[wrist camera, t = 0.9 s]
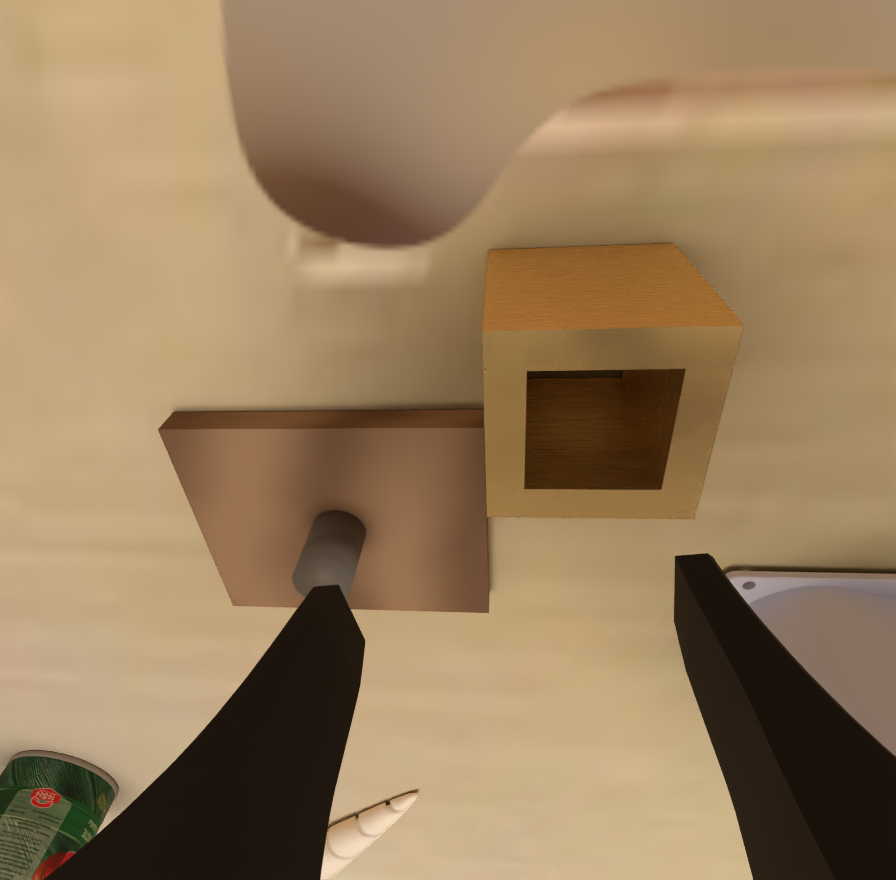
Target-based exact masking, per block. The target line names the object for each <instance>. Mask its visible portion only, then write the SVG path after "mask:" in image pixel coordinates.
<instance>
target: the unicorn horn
mask: <svg viewBox="0 0 896 880" xmlns="http://www.w3.org/2000/svg"><path fill="white" fill-rule="evenodd" d="M417 796H418V793H409V794H405V795H402V796H399V797H397V798H394V799H391V800H390V805H387V804H386V803H385V802H384V803H382V804H380V805H377V806H375V807H373V808H370V809H368V810H366V811H364V812H362V813H360V814H359V818H358V817H357V816H356V815H355V816H353V817H351V818H348V819H346V820H344V821H342V822H339V823H337V824H335V825H333V826H332V827H330V828H328V830H327V836H326V843H325V849H324V856H323V863H322V870H321V878H320V880H330V879H331V878H332V877H334V876H335V875H336V874H337V873H338V872H339V871H341V870H342V869H343V868H344V867H345V866H347V865H348V864H349V863H350V862H351V861H352V860H354V859H355V858H356V857H357V856H358V855H359V854H360V853H361V852H363V851H364V850H365V849H366V848H367V847H369V846H370V845H371V844H372V843H373V842H374V841H375V840H376V839H377V838H378V837H380V836H381V835H382V834H383V833H384V832H385V831H386V830H387V829H388V828H389V827H390V826H391V825H393V824H394V823H395V822H396V821H397V820H398V819H399V818H400V817H401V816H402V815H403V814H404V813H405V812H406V811H407V810H408V808H409V807H410V806H411V805H412V804H413V802H414V801H415V800H416V799H417Z"/></svg>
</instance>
